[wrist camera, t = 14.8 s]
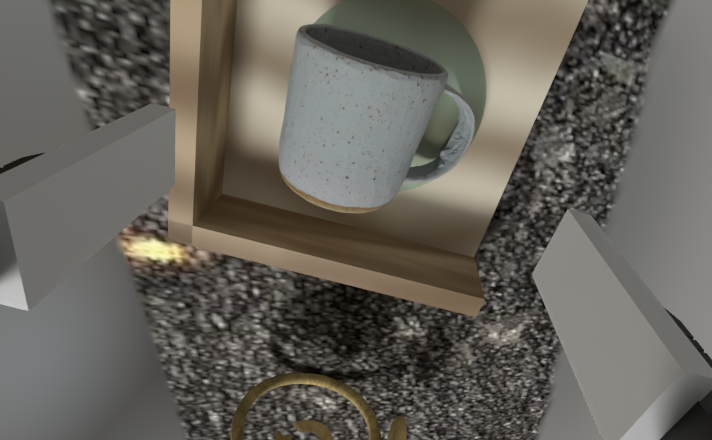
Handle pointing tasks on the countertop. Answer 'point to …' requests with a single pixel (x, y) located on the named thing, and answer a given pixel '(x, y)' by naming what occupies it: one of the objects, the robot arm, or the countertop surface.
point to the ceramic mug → (362, 119)
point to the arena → (413, 200)
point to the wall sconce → (395, 434)
